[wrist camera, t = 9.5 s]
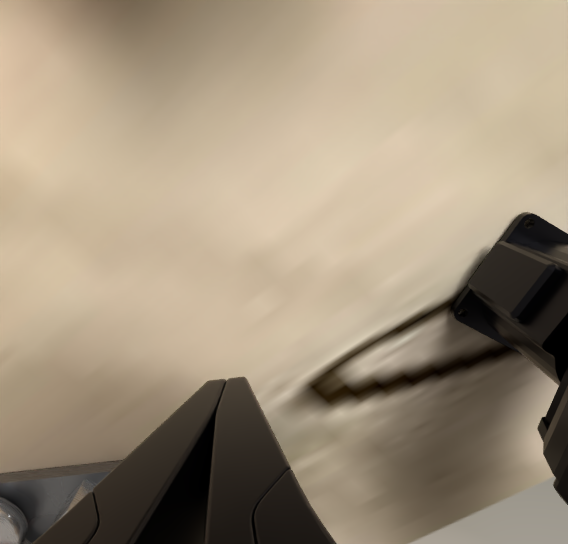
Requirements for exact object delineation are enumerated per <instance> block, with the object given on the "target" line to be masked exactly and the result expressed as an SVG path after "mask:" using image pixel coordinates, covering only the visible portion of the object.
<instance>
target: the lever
mask: <svg viewBox="0 0 568 544" xmlns="http://www.w3.org/2000/svg"><path fill="white" fill-rule="evenodd" d="M27 531H28V523H27V520H26V518H25V516H24V514H23V512H22V511H21V510H20V509H19V508H18V507H17V506H16V505H15V504H13V503H12V502H10V501H9V500H7V499H5V498H3V497H0V544H32V543H31V542H29V541H28V540H27V539H26V538H25V536H26V534H27ZM24 538H25V539H24Z"/></svg>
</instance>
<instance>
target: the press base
mask: <svg viewBox="0 0 568 544" xmlns="http://www.w3.org/2000/svg"><path fill="white" fill-rule="evenodd" d="M122 461H123V460H120V461H111V462H102V463H93V464H84V465H75V466H66V467H57V468H48V469H39V470H30V471H20V472H11V473H2V474H0V497H3V498H5V499H7V500H9V501H10V502H12V503H13V504H15V505H16V506H17V507H18V508H19V509H20V510H21V511H22V512H23V514H24V516H25V518H26V520H27V523H28V531H27V534H26V536H25V538H26V539H27V540H28V541H29V542H31V543H33V542H34V541H35V540H37V539H38V538H39V537H40V536H41V535H43V534H44V533H45V532H46V531H47V530H48V529H49V528H50V527H51V526H53V525H54V524H55V523H56V522H57V521H58V520H59V519H60V518H61V517H63V516H64V515H65V514H66V513H67V512H68V511H69V510H70V509H71V508H73V507H74V506H75V505H76V504H77V503H78V502H79V501H80V500H81V499H82V498H83V497H84V496H85V495H86V494H88V493H89V492H93V488H94V487H95V486H96V485H97V484H98V483H99V482H101V481H102V480H103V479H104V478H105V477H106V476H107V475H108V474H109V473H110V472H111V471H112V470H113V469H114V468H116V467H117V466H118V465H119V464H120V463H121V462H122ZM25 538H24V539H25Z"/></svg>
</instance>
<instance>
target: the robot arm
mask: <svg viewBox="0 0 568 544" xmlns="http://www.w3.org/2000/svg"><path fill="white" fill-rule="evenodd" d="M527 219H529V221H530V222H529V224H528V225H527V226H526V227H525V226H524V223H525V221H526V220H527ZM461 309H464V312H463V313H462V314H458V313H459V311H460V310H461ZM451 314H452V316H453V317H454V318H455V319H456V320H458V321H460V322H461V323H463V324H465V325H467V326H469V327H471V328H473V329H475V330H477V331H479V332H481V333H482V334H484V335H486V336H488V337H490V338H492V339H494V340H496V341H498V342H500V343H502V344H503V345H505V346H507V347H509V348H511V349H513V350H515V351H517V352H519V353H521V354H523V355H524V356H525V357H526V358H527V359H529V360H530V361H531V362H532V363H533V364H534V365H536V366H537V367H538V368H539V369H540V370H541V371H543V372H544V373H545V374H546V375H547V376H548V377H550V378H551V379H552V380H553V381H554V382H555V383H557V384H558V385H559V387H558V390H557V392H556V394H555V396H554V399H553V401H552V403H551V405H550V408H549V410H548V412H547V415H546V417H542V419H541V421H540V423H539V425H538V431H539V433H540V436H541V438H542V440H543V442H544V445H543V454H544V456H545V458H546V460H547V462H548V464H549V466H550V468H551V470H552V473H553V474H554V476H555V477H556V479H555V481H554V484H553V486H554V488H555V490H556V491H557V493H558V494H559V496H560V497H561V498H562V499H563V500H564V501H565V502H566V504H567V505H568V234H567V233H565V232H564V231H562V230H560V229H559V228H557V227H555V226H554V225H552V224H550V223H549V222H547V221H545V220H544V219H542V218H541V217H539V216H537V215H535V214H532V213H528V212H525V213H522V214H520V215H519V216H518V217H517V218H516V219H515V221H514V222H513V223H512V225H511V226H510V227H509V229H508V230H507V232H506V233H505V234H504V236H503V237H502V238H501V240H500V241H499V242H498V243H496V244H495V246H494V247H493V248H492V250H491V251H490V252H489V254H488V255H487V257H486V258H485V259H484V261H483V262H482V263H481V265H480V266H479V268H478V269H477V270H476V272H475V273H474V274H473V276H472V277H471V279H470V280H469V282H468V285H467V287H466V288H465V289H464V291H463V292H462V293H461V295H460V296H459V298H458V299H457V300H456V302H455V303H454V304H453V306H452V308H451ZM32 544H336V542H335V541H334V539H333V538H332V537H331V535H330V534H329V532H328V531H327V530H326V528H325V527H324V525H323V524H322V522H321V520H320V519H319V517H318V516H317V514H316V513H315V511H314V510H313V508H312V507H311V505H310V503H309V501H308V500H307V498H306V496H305V494H304V492H303V491H302V489H301V487H300V485H299V483H298V481H297V479H296V477H295V475H294V473H293V471H292V470H291V468H290V466H289V463H288V461H287V459H286V457H285V455H284V453H283V451H282V449H281V447H280V445H279V443H278V441H277V439H276V437H275V435H274V433H273V431H272V429H271V427H270V425H269V423H268V421H267V419H266V417H265V415H264V413H263V411H262V409H261V407H260V405H259V403H258V401H257V399H256V397H255V395H254V393H253V391H252V389H251V387H250V385H249V383H248V381H247V379H246V378H245V377H237V378H230V379H228V380H227V381H226V380H225V379H220V380H211V381H208V382H206V383H205V384H204V385H203V386H202V387H201V388H200V389H199V390H198V391H197V392H196V393H195V394H194V395H192V396H191V397H190V398H189V399H188V400H187V401H186V402H185V403H184V404H183V405H182V406H181V407H180V408H179V409H177V410H176V411H175V412H174V413H173V414H172V415H171V416H170V417H169V418H168V419H167V420H166V421H165V422H164V423H163V424H161V425H160V426H159V427H158V428H157V429H156V430H155V431H154V432H153V433H152V434H151V435H150V436H149V437H148V438H146V439H145V440H144V441H143V442H142V443H141V444H140V445H139V446H138V447H137V448H136V449H135V450H134V451H133V452H132V453H130V454H129V455H128V456H127V457H126V458H125V459H124V460H123V461H122V462H121V463H120V464H119V465H118V466H117V467H116V468H114V469H113V470H112V471H111V472H110V473H109V474H108V475H107V476H106V477H105V478H104V479H103V480H102V481H101V482H99V483H98V484H97V485H96V486H95V487H94V488H93V492H89V493H88V494H86V495H85V496H84V497H83V498H82V499H81V500H80V501H79V502H78V503H77V504H76V505H75V506H74V507H73V508H71V509H70V510H69V511H68V512H67V513H66V514H65V515H64V516H63V517H61V518H60V519H59V520H58V521H57V522H56V523H55V524H54V525H53V526H51V527H50V528H49V529H48V530H47V531H46V532H45V533H44V534H43V535H41V536H40V537H39V538H38V539H37V540H35V541H34V542H33V543H32Z"/></svg>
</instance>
